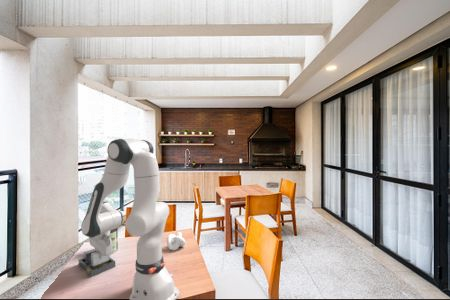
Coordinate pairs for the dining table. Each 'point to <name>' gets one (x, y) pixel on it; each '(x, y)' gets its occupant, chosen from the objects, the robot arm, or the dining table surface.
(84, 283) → the dining table surface
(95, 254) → the grey rectangular block
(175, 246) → the white lumpy piece
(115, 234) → the coffee can
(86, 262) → the rack
